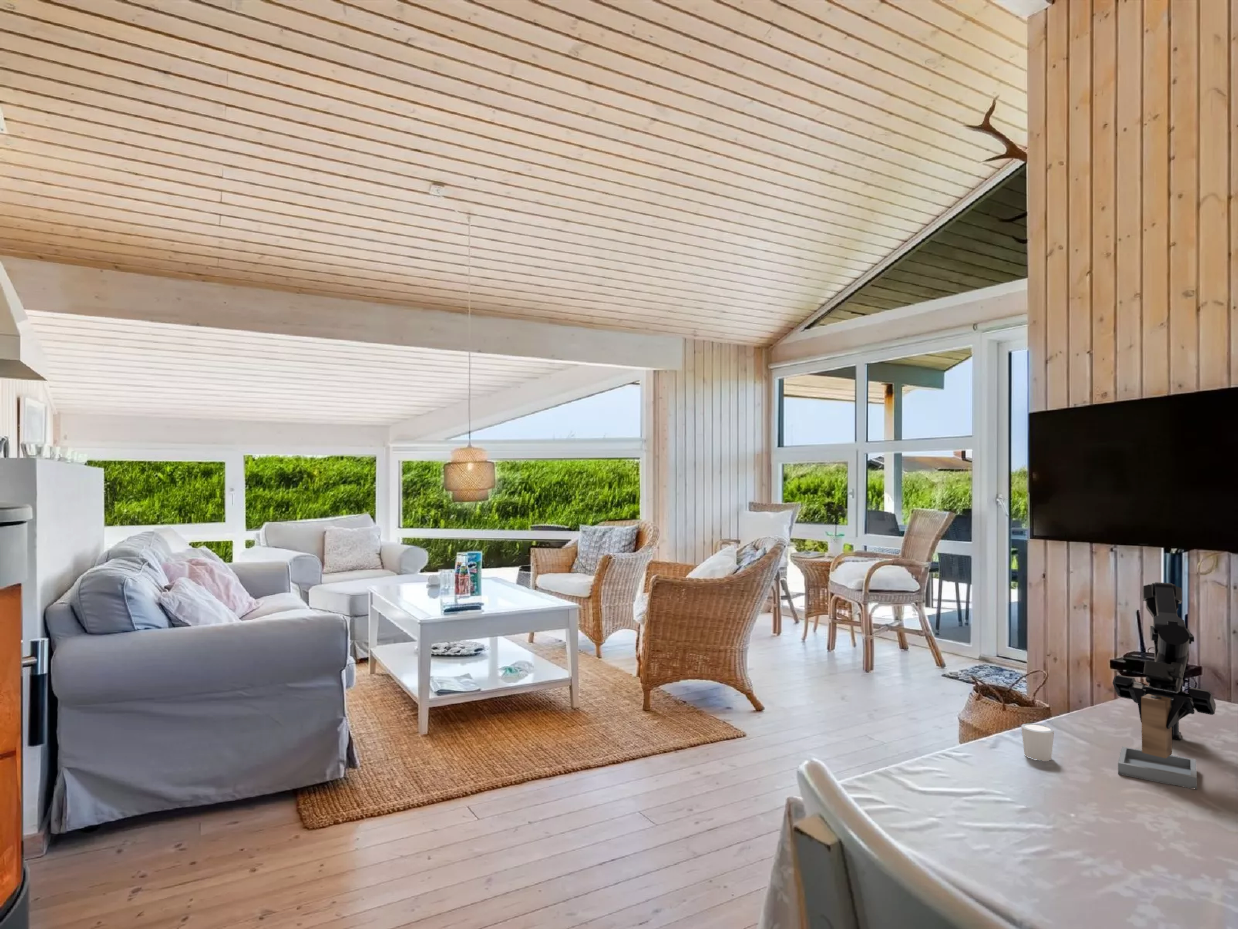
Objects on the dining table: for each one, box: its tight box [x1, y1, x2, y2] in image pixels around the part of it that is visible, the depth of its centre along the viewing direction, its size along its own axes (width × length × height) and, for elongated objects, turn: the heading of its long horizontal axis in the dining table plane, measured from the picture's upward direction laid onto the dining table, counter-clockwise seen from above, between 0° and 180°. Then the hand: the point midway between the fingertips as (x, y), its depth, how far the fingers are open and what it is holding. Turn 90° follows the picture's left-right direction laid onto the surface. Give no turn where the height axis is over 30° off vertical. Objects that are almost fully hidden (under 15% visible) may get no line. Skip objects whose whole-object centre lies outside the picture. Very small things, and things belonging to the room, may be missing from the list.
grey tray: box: [1117, 745, 1198, 790], centre depth 168 cm, size 14×14×2 cm
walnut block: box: [1141, 694, 1173, 758], centre depth 169 cm, size 4×4×13 cm
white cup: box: [1020, 723, 1055, 762], centre depth 178 cm, size 7×7×7 cm
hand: (1154, 725), depth 168 cm, fingers closed on walnut block, 4 cm apart
